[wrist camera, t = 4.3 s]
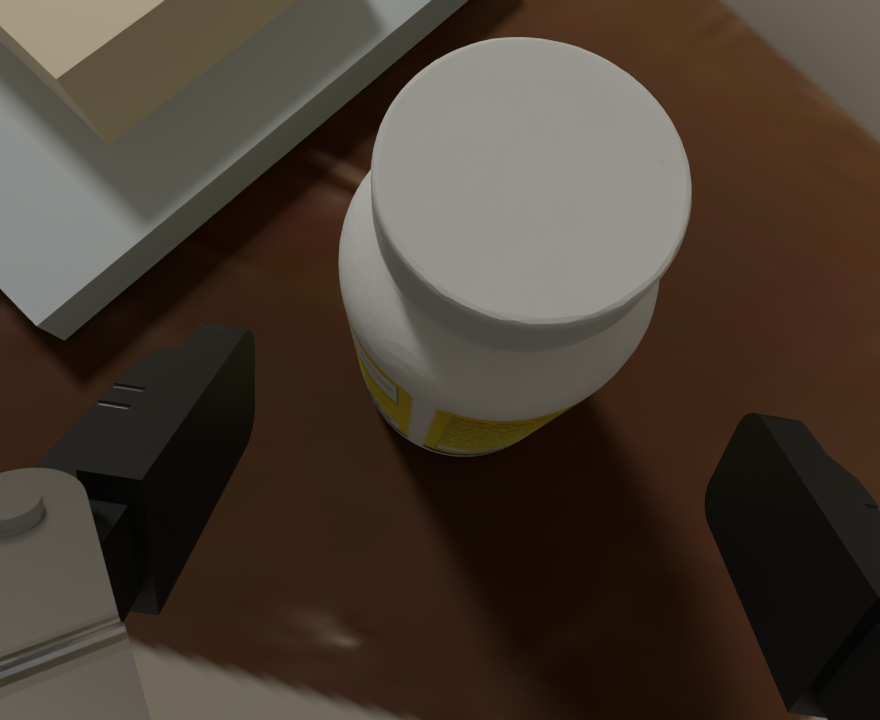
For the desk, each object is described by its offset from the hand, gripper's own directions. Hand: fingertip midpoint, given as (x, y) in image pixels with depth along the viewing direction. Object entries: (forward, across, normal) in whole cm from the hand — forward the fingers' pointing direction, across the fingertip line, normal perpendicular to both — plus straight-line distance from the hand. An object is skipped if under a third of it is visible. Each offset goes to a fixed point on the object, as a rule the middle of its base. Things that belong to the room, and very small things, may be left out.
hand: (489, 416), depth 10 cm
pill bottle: (+9, 0, +4) cm, 10 cm away
